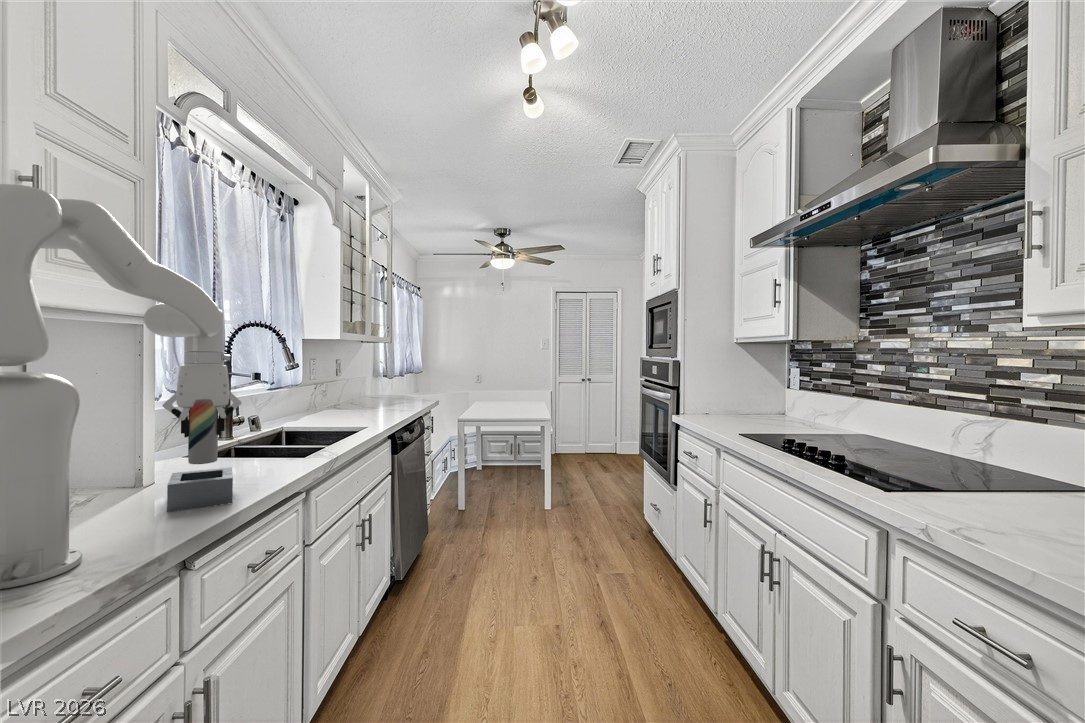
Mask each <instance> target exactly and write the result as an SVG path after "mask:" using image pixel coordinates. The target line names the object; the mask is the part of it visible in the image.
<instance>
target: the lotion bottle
mask: <svg viewBox="0 0 1085 723" xmlns="http://www.w3.org/2000/svg"><path fill="white" fill-rule="evenodd" d="M218 418H219V413H218V411H217V408H216V407H215V406H213V402H212V400H211V399H199V400H195V402H194V405H193V407H191V408H190V410H189V412H188V419H189V435H188V437H187V438H188V441H187V442H188V444H187V445H188V447H187V450H188V452H187V457H188V458H187V461H188V464H189V465H206V464H212V463H215V462H217V461H218V451H219V450H218V449H219V446H218V445H219V443H218V442H219V435H217V432H218Z"/></svg>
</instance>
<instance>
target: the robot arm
mask: <svg viewBox="0 0 1085 723" xmlns="http://www.w3.org/2000/svg"><path fill="white" fill-rule="evenodd" d="M40 249H55V250H58V249H60V250H63V249H64V250H69V251H71V252H73V253H74V254H75V255H76V256H77V257H79V258H80V259H81V260H82V261H83V262H84V263H85V264H86V265H88V266H89V267H90V268H91V269H92V270H93V271H94V272H95V273H96V274H97V275H99V277H100V278H102V280H104V282H106V283H107V284H108V285H109V286H110V287H112V288H114V289H116V290H119V291H121V292H123V293H127V294H128V295H129V294H130V295H133V296H137V297H139V298H143V299H149V300H151V301H155V302H158V303H156V304H154V305H151V306H150V307H149V308H148V309H147V310H146V311H145V313H144V316H143V322H144V324H145V326H146V328H147V329H148V330H149V331H150V332H151V333H153V334H155V335H157V336H161V337H167V338H173V337H174V338H184V339H183V340H184V341H183V342H184V343H183V344H184V345H183V350H184V351H183V352H184V353H183V359H184V360H183V364H180V366H179V370H178V375H177V384H176V392H175V393H174V394H173V395H172V396H171V397H169V398H168V399H167V400H165V402H164V403H163V404H162V408H164V409H165V410H167V411H168V412H170V413H171V414H172V415H174V416H175V417H177V418H178V419H179V420H180V434H181V435H182V434H184V436H183V438H188V435H189V410H190V408H191V407H193V405H194V402H195V400H199V399H211V400H212V402H213V406H215V407H216V408H217V411H218V432H217V435H218V436H221V435H222V432H225V429H226V428H225V427H226V426H225V425H226V422H225V420H226V417H227V416H229V415H230V414H231V413H232V412H234V410H236V409H237V408H238V407H239V406H241V405H242V401H241V399H239V398H238V397H237V396H235V394H233V393H232V392H231V391H230V379H229V371H228V366H227V365H226V364H224V362H227V361H231V355H230V354H225V353H224V326H225V325H224V320H225V318H224V313H223V310H221V309H220V308H219V307H218V306H217V304H216V303H215V302H214V300H213V299H212V298H211V297H210V296H209V294H207V292H206V291H205V290H204V289H203V288H202V287H200V286H199V285H197V284H196V283H195V282H193V281H191V280H190V279H188V278H187V277H185V276H183V275H181V274H179V273H178V272H175V271H174V270H171V269H170V268H168V267H166V266H164V265H162V264H160V263H158V262H156V261H154V260H153V259H152V258H151V256H150V255H148V254H147V253H146V251H145V250H144V248H142V247H141V246H140V245H139V243H138V242H136V241H135V239H134V238H133V237H132V236H131V235H130V234H129V233H128V232H127V231H126V229H125V228H124V227H123V226H122V225H121V224H120V223H119V222H118V220H116V219H115V217H114V216H113V215H112V214H111V213H110V212H109V211H108V210H107V209H105V208H104V207H103V206H101V205H100V204H98V203H96V202H93V201H89V200H84V199H71V198H70V199H68V198H56V197H55V196H54V195H52V194H50V193H49V192H47V191H45V190H44V189H41V188H37V187H34V186H30V185H22V184H13V183H12V184H11V183H6V184H5V183H0V367H20V366H26V365H30V364H33V363H36V362H38V361H40V360H41V359H43V358H44V357H45V356H46V355H47V353H48V351H49V343H50V342H49V335H48V330H47V328H46V327H47V326H46V322H45V320H44V317H43V313H42V309H41V306H40V303H39V300H38V296H37V294H36V290H35V286H34V282H33V277H32V266H33V263H34V260H35V258H36V255H37V253H39V250H40ZM80 398H81V397H80V395H79V391H78V390H77V388H76V386H74V384H73V383H71V382H70V381H69V380H67V379H65V378H63V377H61V376H58V375H56V374H50V373H45V372H37V371H35V372H33V371H32V372H31V371H0V590H3V588H4V589H9V588H10V589H11V588H15V587H21V586H26V585H29V584H33V583H38V582H42V581H45V580H47V579H50V578H53V577H56V576H59V575H61V574H64V573H67V572H68V571H71V570H72V569H74V568H75V567H77V566H78V565H80V564H81V562H82V560H83V553H82V552H81V551H80V550H78V549H73V548H70V508H71V507H70V504H71V503H70V502H71V499H70V498H71V448H72V438H73V433H74V429H75V424H76V420H77V418H78V414H79V409H80V404H81V401H80V400H81V399H80ZM229 401H231V402H232V404H230V405H229V406H228V407H226V409H225V408H224V407H225V406H227V405H228V404H229ZM175 402H176V405H177V406H178V408H179V407H180V408H183V409H182V410H180V409H178V408H177V407H175V406H174V405H173V404H174V403H175Z"/></svg>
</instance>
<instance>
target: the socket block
mask: <svg viewBox="0 0 1085 723" xmlns="http://www.w3.org/2000/svg"><path fill="white" fill-rule="evenodd" d="M170 475H171V476H170V478H169V481H168V482H167V488H166V489H167V490H166V491H167V494H166V495H167V496H166V497H167V498H166V512H167V513H170V512H177V511H185V510H192V509H193V508H194V509H200V507H201V508H208V507H207V506H209V507H215V506H214V505H217V506H222V505H221V504H224V505H229V504H228V503H232V504H233V497H234V496H233V488H234V486H233V485H234V483H233V482H234V478H233V476H234V475H233V467H221V468H211V469H201V470H194V471H193V470H190V471H179V472H172V473H171V474H170Z"/></svg>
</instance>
